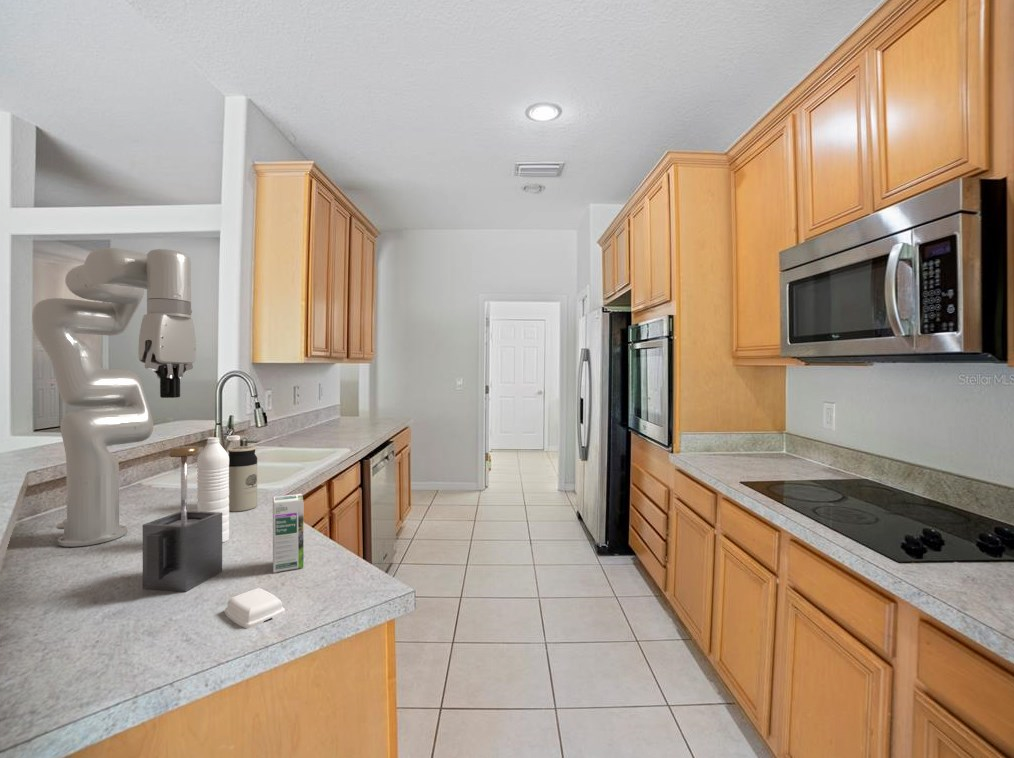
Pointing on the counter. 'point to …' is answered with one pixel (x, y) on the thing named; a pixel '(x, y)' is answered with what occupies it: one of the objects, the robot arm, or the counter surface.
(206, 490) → the water bottle
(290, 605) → the counter surface
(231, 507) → the travel mug
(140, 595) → the counter surface
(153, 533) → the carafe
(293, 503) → the syrup box
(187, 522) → the plunger
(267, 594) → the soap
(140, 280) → the robot arm
